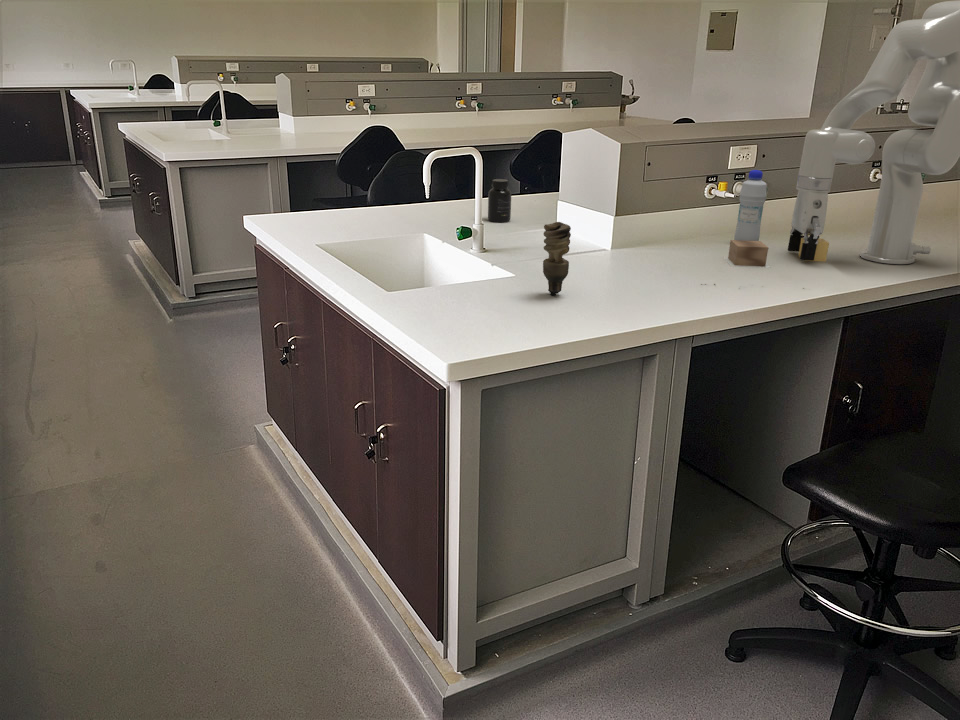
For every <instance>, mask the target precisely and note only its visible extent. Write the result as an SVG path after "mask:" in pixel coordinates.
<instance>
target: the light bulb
mask: <svg viewBox="0 0 960 720" xmlns="http://www.w3.org/2000/svg"><path fill="white" fill-rule="evenodd" d="M543 229H544V230H545V231H544V232H543V236H544V237H545V239H543V243H544V244H545V245H544V246H543V250H544V251H546V253H548V258H545V259H543V260H542V262H543V263H542V273H543V276H544V277H545V278H546V280H547V284H548V289H547V291H548V292H549V294H550V296H556V295H557V294H559V293H560V292H562V288H563V287H562V286H563V281H564V280H565V279H566V278H567V276H568V274H569V269H570V261H569V260H568V259H565V258H563V256H564V255H566V254H568V253H569V251H570V246H569V245H570V244H571V239H570V238H571V236H572V235H571V234H572V233H571V229H572V228H571V226H570V224H567V223H564V222H562V221H561V222H560V221H555V222H552V223H549V224H544V225H543Z"/></svg>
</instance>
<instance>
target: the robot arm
mask: <svg viewBox="0 0 960 720" xmlns="http://www.w3.org/2000/svg"><path fill="white" fill-rule="evenodd" d="M922 14H923V15H922V17H921V18H919V19H907V20H903V21H900V22H899V23H897V24H895V25H894V26H893V27H892V28H891V30H890V31H889V33H888V35H887V36H886V38H885V40H884V41H883V44H882V45H881V47H880V49H879V51H878V53H877V55H876V57H875V58H874V61H873V62H872V63H871V66H870V68H869V69H868V71H867V73H866V75H865V77H864V79H863V80H862V82H861V83H859V84H858V85H857V86H856V87H855V88H853V89H852V90H851V91H850V92H848V93H847V94H846V95H845V96H844V97H842V99H841V100H840V101H838V102H837V104H836V105H835V106H833V108H832V109H831V111H830V112H829V114H828V116H827V117H826V119H825V120H824V122H823V124H822V126H821V127H820V129H810V130H808V131H807V133H806V135H805V138H804V142H803V149H802V153H801V160H800V165H799V170H798V174H797V175H798V176H797V181H796V185H795V186H796V187H795V189H796V191H797V195H796V199H795V203H794V207H793V212H792V219H791V229H790V235H789V240H788V244H787V245H788V246H787V251H788V252H797V253H799V249H800V243H801V238H804V242H805V243H803V244H802V249H801V254H800V257H799V259H800V261H804V260H810V261H809V262H814V261H813V260H814V257H815V252H816V247H817V244H818V239H819V238H820V236H821V235H823V233H824V231H825V225H826V224H825V223H826V217H827V210H828V201H829V200H828V199H829V195H828V194H829V193H830V192H831V188H832V182H833V177H834V172H835V168H836V163H844V164H849V165H860V164H863V163H865V162H867V161H868V160H869V159H870V158H872V156H873V155H874V153H875V150H876V142H875V139H874V138H873V136H872V135H870V134H869V133H867V132H865V131H863V130H855V129H854V130H853V129H851V128H852V127H853V125H854V124H855V123H856V121H858V119H860V118H861V117H862V116H864V114H866V113H868V112H869V111H871V110H873V109H875V108H877V107H878V108H879V106H882V105H884V104H886V103H890V102H891V101H893V100H894V99H896V98H897V97H898V96H899V95H900V94H901V92H902V90H903V88H904V86H905V84H906V82H907V81H908V79H909V77H910V75H911V73H912V72H913V70H914V69H915V66H916V65H917V64H918V61H919V60H923V61H925V60H926V61H927V62H926V63H927V64H926V66H925V69H924V71H923V73H922V75H921V78H920V81H919V82H918V84H917V86H916V88H915V91H914V94H913V95H912V98H911V100H910V102H909V105H908V109H907V117H908V118H909V120H910V121H911V122H912V123H914V124H915V125H919V126H925V127H932V128H933V127H934V129H933V131H931V130H930V131H929V130H922V129H914V128H913V129H912V128H911V129H910V128H907V129H906V128H905V129H900V130H898V131H895V132H893V133H892V134H891V135H889V137H888V138H887V139H886V141H885V142H884V144H883V148H882V152H881V153H882V154H881V155H882V157H881V163H882V166H881V167H882V171H881V179H880V184H879V185H880V186H879V190H878V195H877V199H876V205H875V209H874V210H875V211H874V215H873V219H872V220H873V221H872V225H871V230H870V235H869V239H868V245H867V249H862V250H860V251H859V256H861V259H864V260H867V261H871V262H875V263H881V264H890V265H910V264H913V263H915V259H916V255H917V254H921V255H929V254H930V253H931V246H929V245H928V246H927V245H925V246H921V245H919V244H915V242H913V237H914V232H915V228H916V223H917V219H918V214H919V209H920V206H921V201H922V197H923V191H924V181H923V176H922V174H925V175H930V176H940V175H943V174H946V173H948V172H949V171H950V170H951V169H952V168H953V167H954V166H955V165H956V164H957V162H958V160H959V159H960V0H947V1H941V2H937V3H934V4H932V5H930V6H929V7H928V8H926V10H925V11H924V12H923V13H922Z"/></svg>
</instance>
